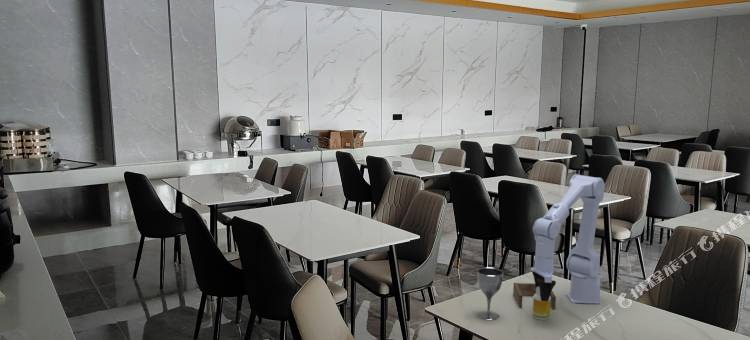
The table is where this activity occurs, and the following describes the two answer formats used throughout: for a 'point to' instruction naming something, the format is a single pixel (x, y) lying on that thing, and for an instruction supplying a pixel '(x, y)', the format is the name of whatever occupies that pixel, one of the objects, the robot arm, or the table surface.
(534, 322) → the table surface
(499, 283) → the wine glass
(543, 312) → the supplement bottle
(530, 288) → the walnut stall
